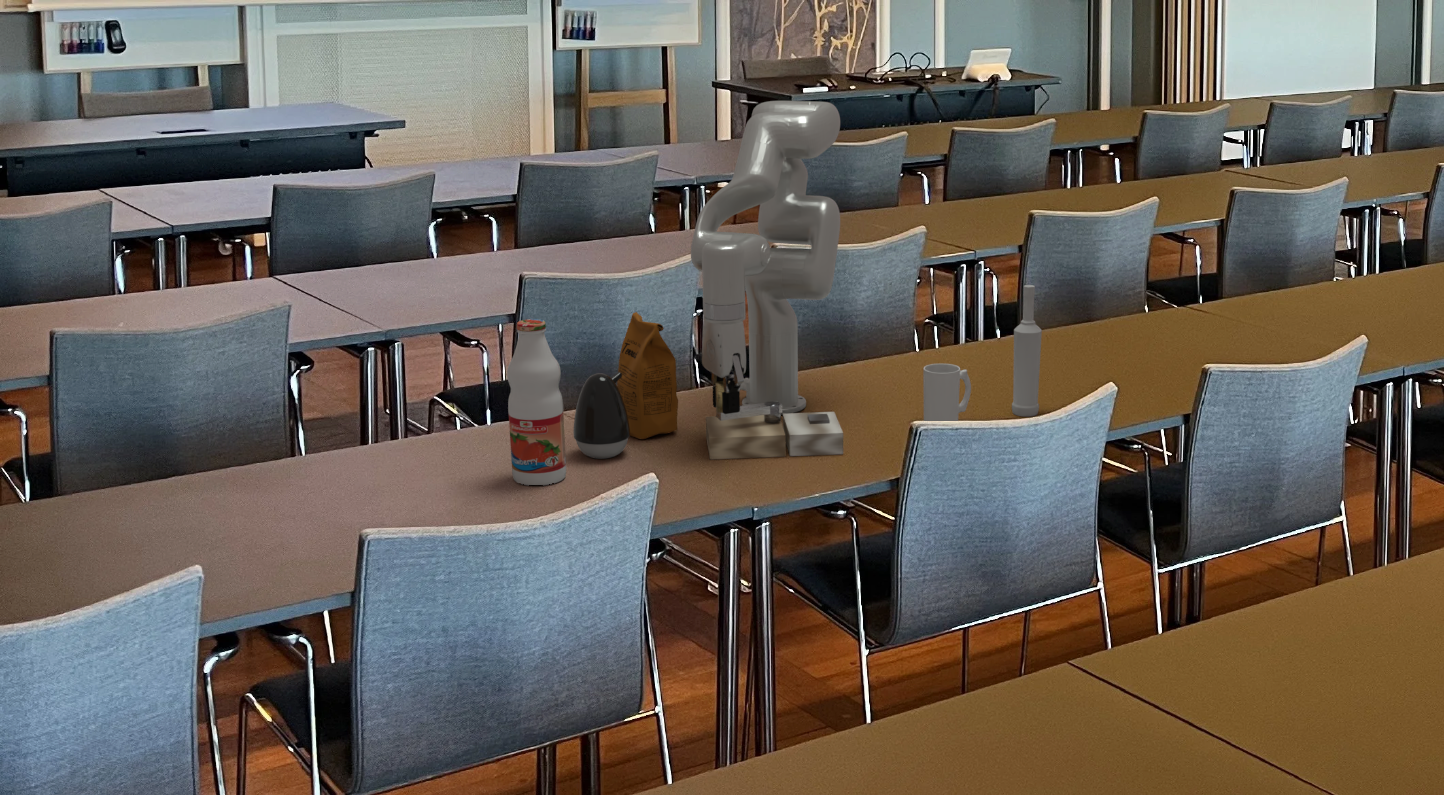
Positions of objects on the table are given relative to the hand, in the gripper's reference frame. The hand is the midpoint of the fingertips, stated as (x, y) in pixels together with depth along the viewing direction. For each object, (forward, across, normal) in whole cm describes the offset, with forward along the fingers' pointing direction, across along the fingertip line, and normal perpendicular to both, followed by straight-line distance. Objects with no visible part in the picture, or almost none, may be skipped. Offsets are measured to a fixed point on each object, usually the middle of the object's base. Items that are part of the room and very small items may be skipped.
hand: (726, 408), depth 300 cm
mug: (+8, +7, +42) cm, 43 cm away
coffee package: (+8, -18, -9) cm, 21 cm away
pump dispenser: (+8, -8, -21) cm, 24 cm away
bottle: (+8, +5, +60) cm, 61 cm away
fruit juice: (+8, 0, -36) cm, 36 cm away
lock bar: (+3, 0, +4) cm, 6 cm away
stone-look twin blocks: (+8, +2, +8) cm, 12 cm away
